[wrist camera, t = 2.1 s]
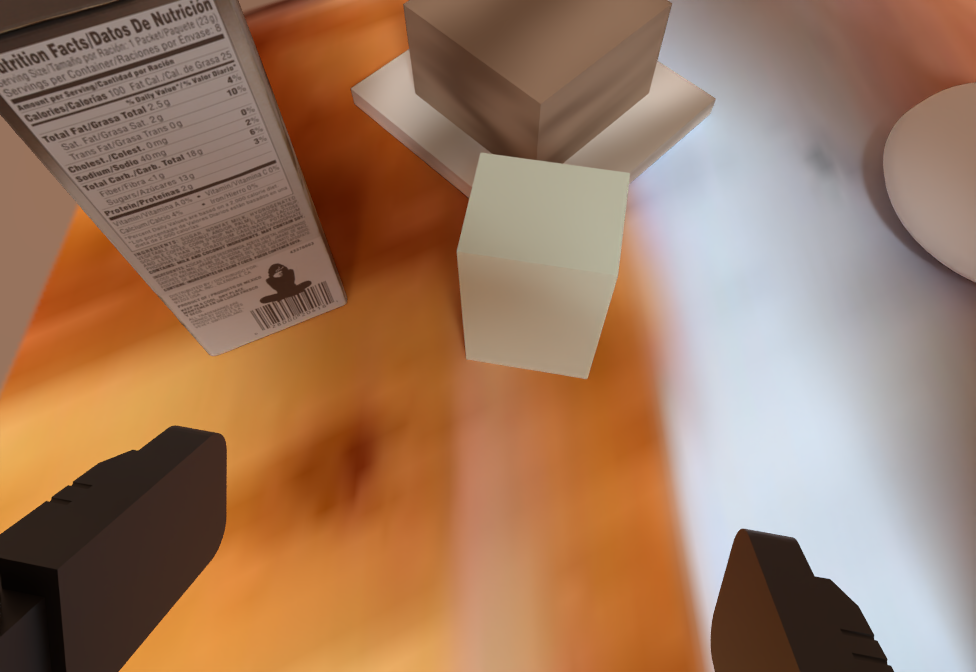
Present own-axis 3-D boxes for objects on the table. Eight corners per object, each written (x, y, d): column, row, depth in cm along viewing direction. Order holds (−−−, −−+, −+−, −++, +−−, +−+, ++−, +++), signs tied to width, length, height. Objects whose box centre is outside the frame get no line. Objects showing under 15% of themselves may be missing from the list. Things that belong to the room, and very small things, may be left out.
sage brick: (598, 294, 30) (630, 172, 23) (587, 378, 29) (618, 275, 21) (484, 277, 31) (480, 152, 24) (466, 359, 29) (456, 251, 22)
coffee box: (159, 201, 33) (-102, -180, 18) (291, 155, 34) (142, -237, 20) (210, 364, 29) (-71, 45, 15) (357, 306, 30) (230, -42, 16)
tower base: (710, 113, 35) (749, 9, 29) (542, 258, 31) (552, 168, 26) (521, -11, 39) (525, -123, 34) (354, 103, 35) (328, -2, 30)
